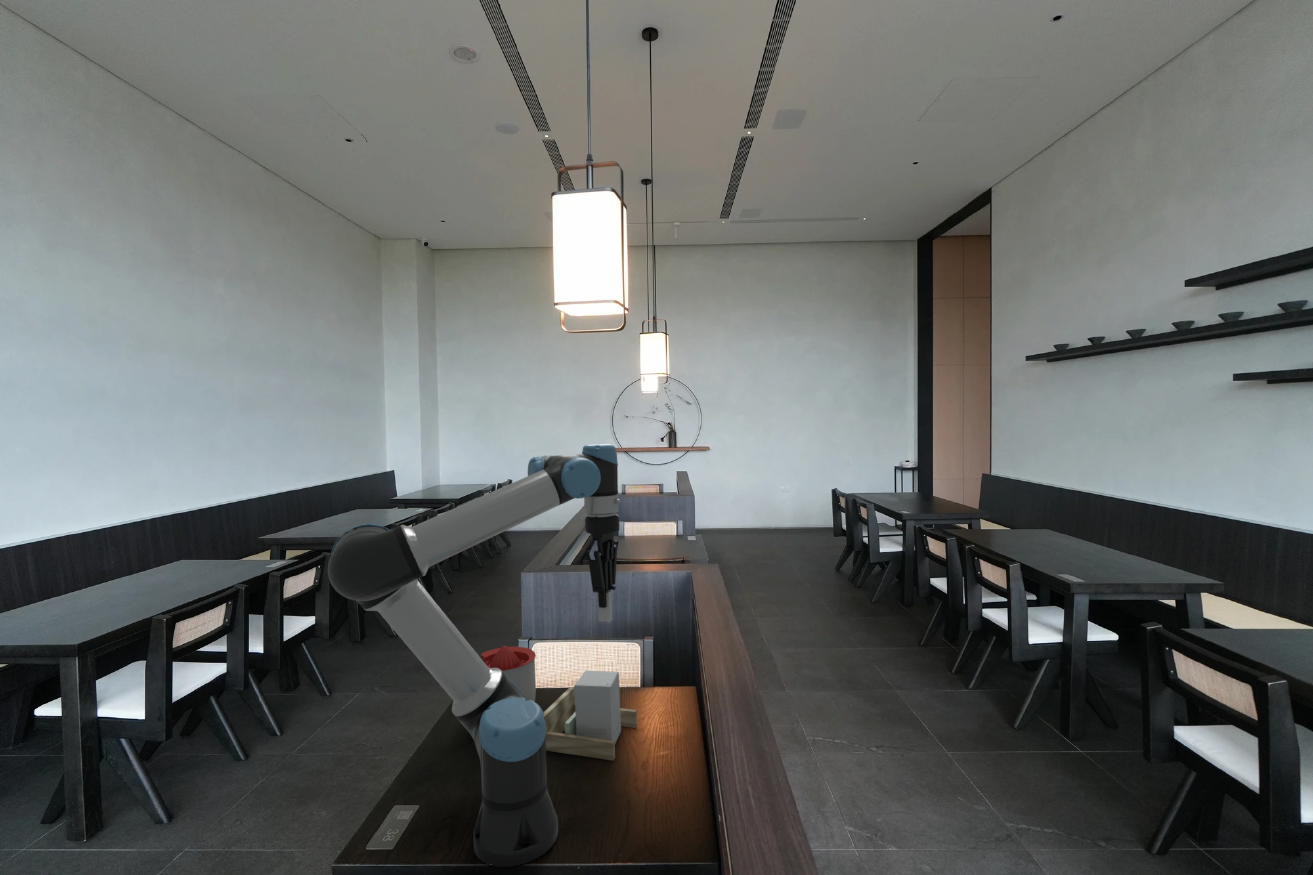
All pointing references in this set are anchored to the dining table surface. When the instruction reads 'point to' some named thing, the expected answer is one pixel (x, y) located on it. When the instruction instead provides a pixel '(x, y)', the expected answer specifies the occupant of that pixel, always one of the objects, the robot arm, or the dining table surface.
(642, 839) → the dining table surface
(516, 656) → the citrus juicer
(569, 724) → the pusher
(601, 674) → the supplement box
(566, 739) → the pusher lane
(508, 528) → the robot arm
